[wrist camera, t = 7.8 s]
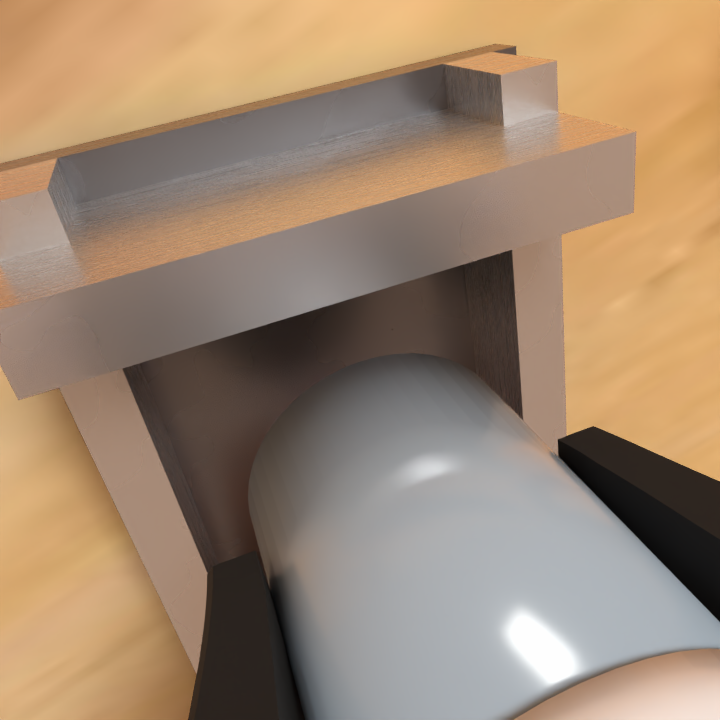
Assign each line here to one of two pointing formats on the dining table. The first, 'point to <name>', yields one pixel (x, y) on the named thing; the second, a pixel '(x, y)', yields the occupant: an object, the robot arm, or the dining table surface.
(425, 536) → the jar
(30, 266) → the pusher lane
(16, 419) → the dining table surface
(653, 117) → the dining table surface
